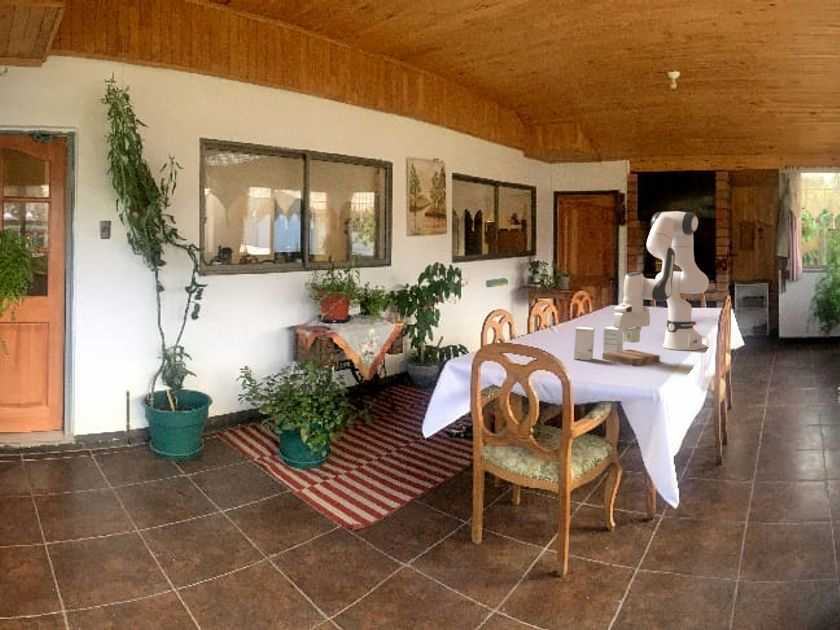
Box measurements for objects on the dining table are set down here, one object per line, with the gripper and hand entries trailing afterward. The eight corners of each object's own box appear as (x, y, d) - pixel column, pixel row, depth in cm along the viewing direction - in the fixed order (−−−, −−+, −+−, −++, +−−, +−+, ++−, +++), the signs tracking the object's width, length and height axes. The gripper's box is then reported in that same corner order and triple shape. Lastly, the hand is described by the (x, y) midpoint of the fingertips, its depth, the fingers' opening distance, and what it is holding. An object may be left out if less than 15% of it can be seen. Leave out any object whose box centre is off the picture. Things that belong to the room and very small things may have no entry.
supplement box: (608, 351, 352) (609, 326, 350) (623, 352, 347) (624, 327, 346) (602, 353, 346) (603, 327, 345) (616, 355, 342) (617, 329, 340)
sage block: (631, 340, 330) (631, 327, 329) (639, 341, 326) (640, 328, 325) (623, 341, 327) (624, 328, 327) (631, 342, 323) (632, 329, 322)
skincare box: (573, 359, 331) (574, 328, 329) (575, 357, 336) (576, 326, 334) (591, 360, 328) (592, 329, 326) (593, 358, 333) (594, 327, 331)
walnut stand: (629, 355, 340) (629, 349, 340) (659, 361, 325) (659, 355, 324) (602, 359, 331) (602, 352, 331) (631, 365, 316) (632, 359, 315)
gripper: (643, 305, 333) (642, 334, 334) (611, 307, 322) (610, 337, 324) (653, 306, 327) (652, 336, 329) (622, 309, 317) (621, 339, 319)
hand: (631, 337), depth 326 cm, fingers closed on sage block, 5 cm apart
